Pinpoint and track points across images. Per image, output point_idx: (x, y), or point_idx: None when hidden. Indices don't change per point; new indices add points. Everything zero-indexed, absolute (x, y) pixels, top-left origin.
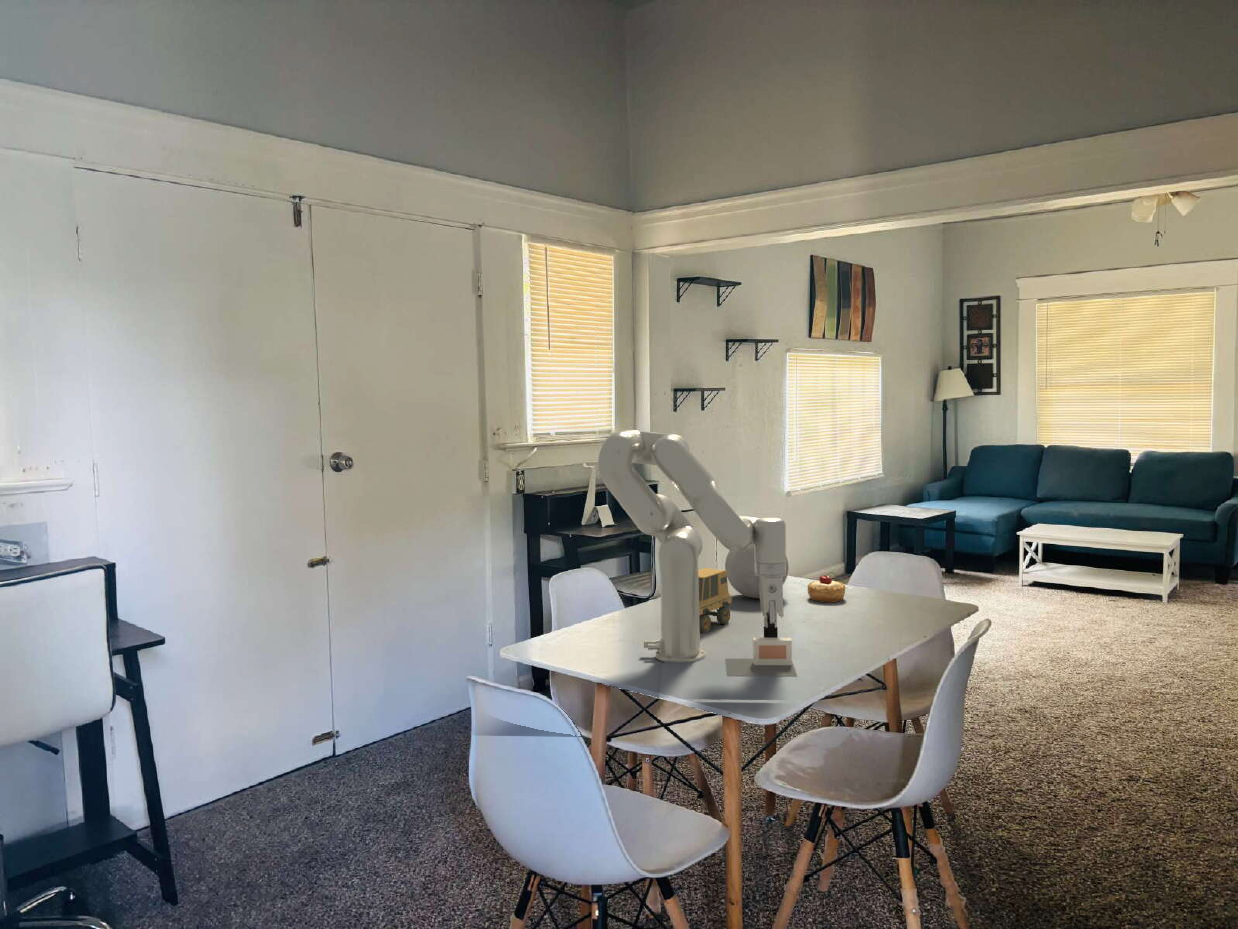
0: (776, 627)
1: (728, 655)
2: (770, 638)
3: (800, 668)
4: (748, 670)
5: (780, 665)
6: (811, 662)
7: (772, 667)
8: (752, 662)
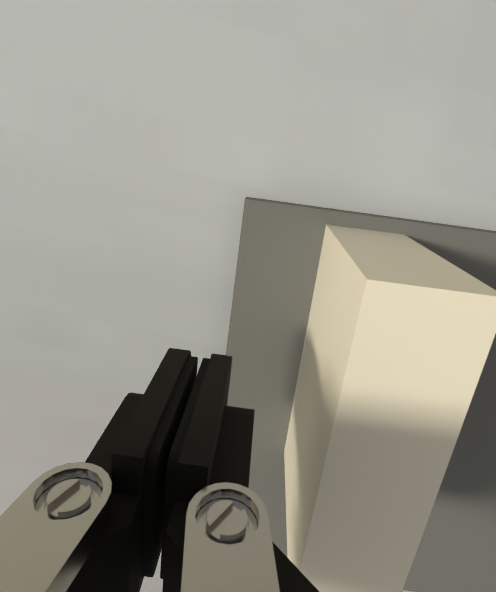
0: (261, 505)
1: None
2: (350, 494)
3: (424, 168)
4: (446, 504)
5: None
6: (282, 32)
7: None
8: None
